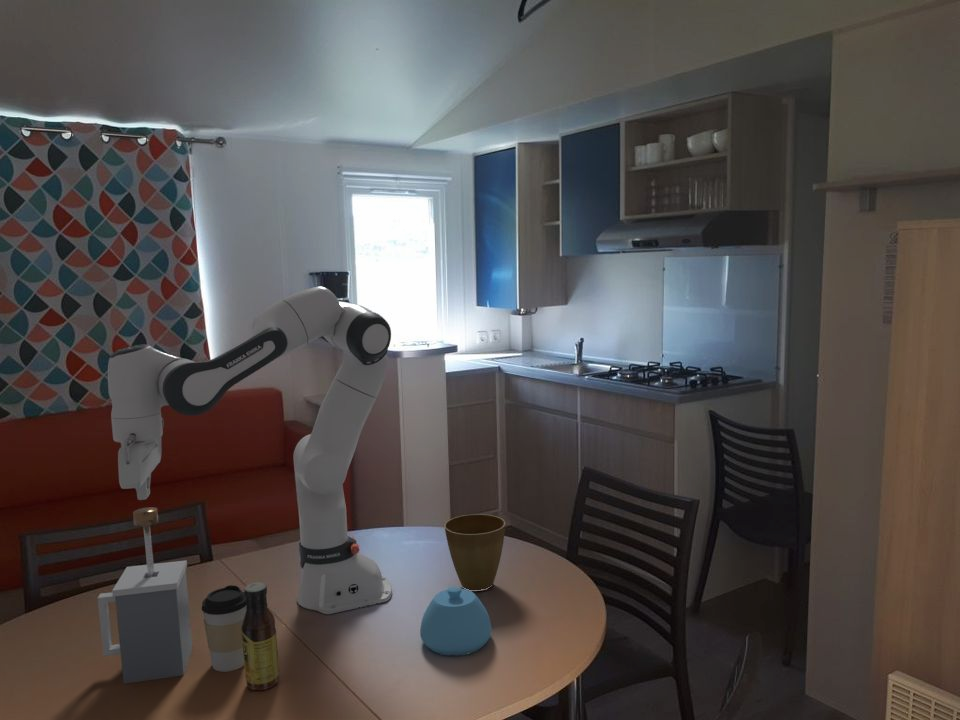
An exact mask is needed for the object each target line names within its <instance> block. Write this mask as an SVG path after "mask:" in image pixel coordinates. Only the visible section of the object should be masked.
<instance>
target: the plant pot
mask: <svg viewBox="0 0 960 720" xmlns="http://www.w3.org/2000/svg"><path fill="white" fill-rule="evenodd" d="M443 527H444V533H445V537H446V540H447V541H446V542H447V546H448V550H449V555H450V557H451V561H452V564H453V567H454V569H455V572H456V575H457V577H458V580H459V582H460V584H461V587H462V586H463V587H464V588H466V589H469V590H481V589H486V588H488V587H490V586H491V585H492V586H493V585H494V583H495V580H496V576H497V574H498V573H497V572H498V569H499V565H500V562H501V557H502V552H503V546H504V542H505V541H504V539H505V532H506V521H505V519H503V518H502V517H499V516H497V515H492V514H484V513H474V514H464V515H459V516H456V517H453V518H450V519H449V520H447V521H446V522H445V523H444V526H443ZM463 587H462V588H463ZM464 588H463V589H464Z"/></svg>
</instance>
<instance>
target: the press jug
mask: <svg viewBox="0 0 960 720" xmlns="http://www.w3.org/2000/svg"><path fill="white" fill-rule="evenodd" d="M153 564H154V575H155V577H149V578H148V571H147V564H143V565H142V564H141V565H132V566H126V568H125V569H124V571H123V573H122V574H121V576H120V577H119V579H118V580H117V582H116V584H115V586H114V587H113V588H112V591H111V592H103V593H102V592H101V593H99V595H98V597H97V607H98V616H99V617H98V618H99V626H100V636H101V637H100V638H101V643H102V644H101V645H102V656H103V657H109V656H117V655H118V656H119V655H120V659H121V661H120V663H121V671H122V680H123V681H122V682H123V684H124V685H125V684H132V683H138V682H146V681H152V680H153V681H154V680H161V679H165V678H175V677H181V676H184V675H185V673H186V669H187V667H188V662H189V660H190V657H191V654H192V651H193V641H192V626H191V617H190V608H189V607H190V605H189V593H188V584H187V583H188V581H187V571H186V570H187V567H188V560H177V561H170V562H169V561H168V562H159V563H153ZM109 603H115V607H116V608H115V610H116V622H117V629H118V630H117V631H118V641H119V643H118V644H117V643H116V644H113V641H112V632H111V631H112V630H111V621H110V620H111V619H110V612H109Z"/></svg>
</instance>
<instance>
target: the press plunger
mask: <svg viewBox="0 0 960 720" xmlns="http://www.w3.org/2000/svg"><path fill="white" fill-rule="evenodd" d="M132 515H133V525H134V526H135V527H142V528H143V537H144V538H143V539H144V546H145V547H144V549H145V559H146V565H147V571H148V578H149V577H155V575H154V564H155V563H154V555H153V544H152V535H151V534H152V533H151V526H152V525H155V524H157V523H158V522H159V513H158V507H153V506H151V507H150V506H149V507H142V508H137V509H136V510H134V511H133V512H132Z"/></svg>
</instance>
